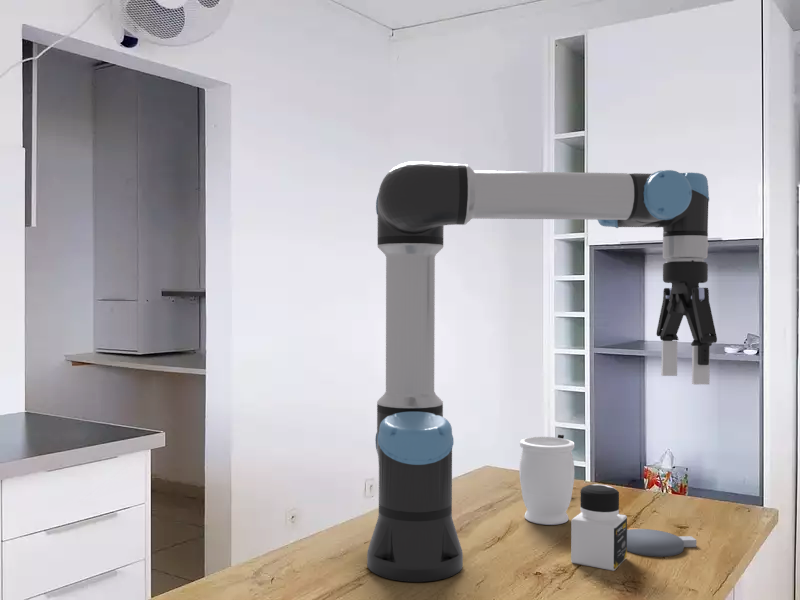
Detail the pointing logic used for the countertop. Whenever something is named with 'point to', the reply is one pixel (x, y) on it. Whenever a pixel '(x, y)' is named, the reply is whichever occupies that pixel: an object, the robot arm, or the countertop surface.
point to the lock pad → (656, 542)
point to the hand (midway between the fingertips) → (684, 379)
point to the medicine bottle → (599, 529)
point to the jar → (546, 478)
